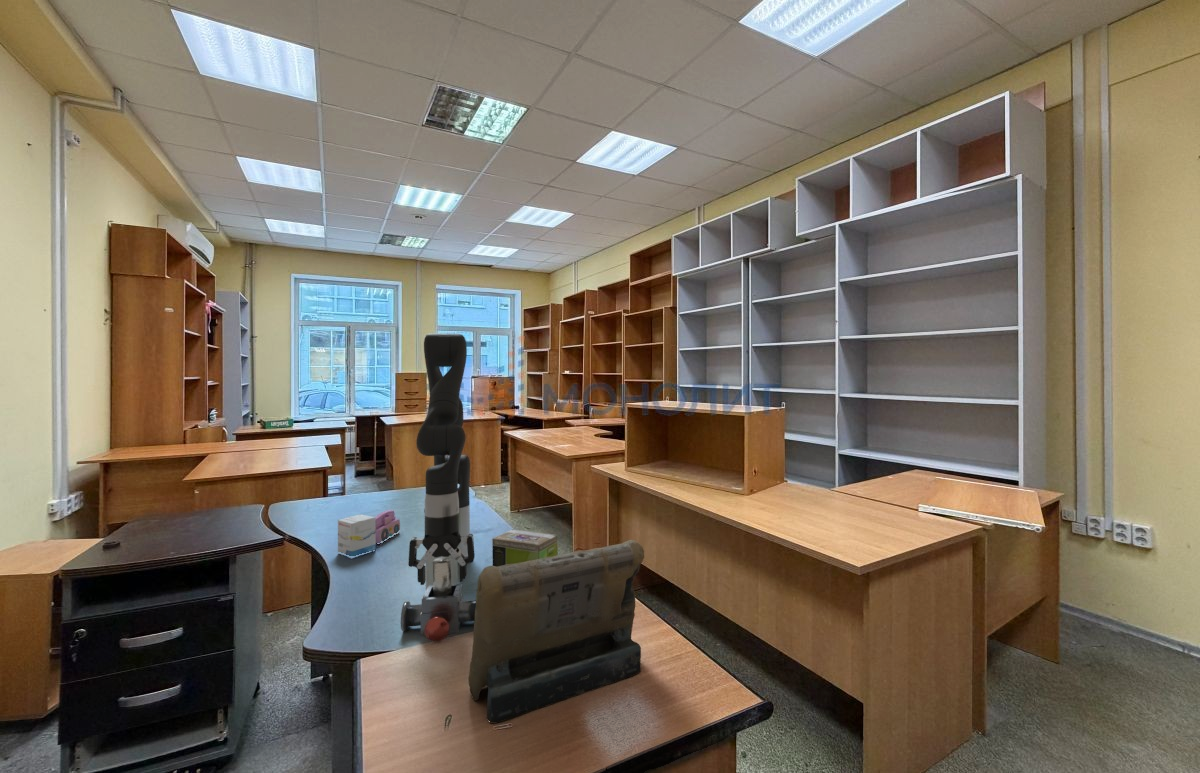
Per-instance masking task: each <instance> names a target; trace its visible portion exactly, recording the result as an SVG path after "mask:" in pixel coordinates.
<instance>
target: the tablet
mask: <svg viewBox="0 0 1200 773" xmlns="http://www.w3.org/2000/svg"><path fill="white" fill-rule="evenodd" d="M644 558H645V550H644V547H643V546H642V545H641V543H639V542H638V541H636V540H634V539H628V540H627V541H624V542H622V543H618V544H617V543H616V544H612V545H605V546H603V547H595V548H591V549H586V550H575V551H572V552H571V551H570V552H568V553H562V554H558V555H556V556H552V557H545V558H541V559H537V560H530V561H527V562H521V563H516V564H507V565H502V566H493V565H487V566H485V567H484V568H483V569H482V571H481V572H480V574H479V576H478V579H477V588H476V597H477V598H475V600H476V608H475V621H473V622H474V623H473V637H472V638H473V639H472V640H473V641H472V650H471V652H472V653H471V658H470V664H469V672H468V673H469V674H468V686H469V692H470V695H471V694H472V695H471V697H472V696H473V698H472V700H473V701H475V702H477V701H478V700H479V698H480V692H481V691H482V689H484V688H485V687H487V703H486V704H487V706H486V720H487V719H488V720H489V721H490V722H497V723H500V722H503V721H506V720H509V719H512V718H515V717H519V716H522V715H524V714H527V713H530V712H533V711H536V710H540V709H541V708H545V707H547V706H550V705H554V704H556V703H559V702H563V701H565V700H568V699H570V698H573V697H574V698H575V697H576V696H580V695H583V694H586V693H588V692H591V691H594V690H596V689H600V688H602V687H605V686H607V685H610V684H613V683H616V682H619V681H622V680H625V679H627V678H630V677H631V676H632V677H633V676H636V675H637V674H638V673H639V674H640V672H641V671H642V668H641V658H642V648H641V645H640V644H639V643H638V642H636V641H634V640H633V639H632V635H633V634H632V633H633V627H634V626H633V624H634V619H635V616H636V615H635V613H636V612H635V610H636V591H635V590H634V589H633V588H632V587H633V581H634V577H635V576H637V574H638V573H639V572H640V567H641V564H642V563H643V561H644ZM488 720H487V721H488Z"/></svg>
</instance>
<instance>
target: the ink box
mask: <svg viewBox="0 0 1200 773" xmlns="http://www.w3.org/2000/svg"><path fill="white" fill-rule="evenodd" d="M375 517H376V516H370V515H365V514H363V513H361V514H356V515H351V516H347V517H344V518H341V519H337V553H338V552H341V553H344V554H346V555H349V556H356V555H359V554H362V553H366V552H369V551H373V550H375V549H376V550H377V546H376V545H377V544H376V531H375Z"/></svg>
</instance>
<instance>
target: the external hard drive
mask: <svg viewBox="0 0 1200 773" xmlns="http://www.w3.org/2000/svg"><path fill="white" fill-rule="evenodd" d="M424 552H425V553H426V552H427V549H426V548H425V550H424ZM425 553H424V554H425ZM441 557H443V556H441ZM441 557H436V558H434V556H432V555H431V556H430V558H429V559H428V560H427V562H426V563H425V571H426V581H425V591H426V590H427V587H428V586H431V585H433V560H435V559H437V558H441ZM449 558H451V582H452V584H459V581H458V580H459V573H458V571H459V565H458V561H457V560H455V559H454V558H453V557H452V555H450V556H449Z"/></svg>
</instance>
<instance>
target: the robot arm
mask: <svg viewBox="0 0 1200 773" xmlns="http://www.w3.org/2000/svg"><path fill="white" fill-rule="evenodd" d="M467 351H468V348H467V340H466V337H465V336H464V335H463V334H461V333H452V332H451V333H448V332H447V333H446V332H444V333H443V332H442V333H441V332H440V333H439V332H434V333H433V332H432V333H431V332H430V333H427V334H426V335H425V337H424V341H423V353H424V354H423V355H424V363H425V368H426V373H427V380H428V389H429V400H428V408H427V410H428V411H427V415H426V416H425V419H424V421H423V422H422V425H421V426H420V429H419V430H418V433H417V436H416V439H415V440H416V441H415V442H416V448H417V450H418V452H419V453H420V454H421V455H422V456H425V457H433V466H429V467H428V468H427V469H426V471H425V495H424V496H425V497H424V509H423V513H424V537H423V538H418V537H416V536H413V537H412V538H411V539H410V541H409V546H408V547H409V548H408V550H409V551H408V563H407V564H408V567H410V568H412V567H414V568H416V570H417V582H418V584H420V586H424V585H426V562H427V560H428V559H429V558H430V556H431V555H432V556H434V558H436V557H441V556H443V557H449V556H450V555H452V557H453V558H454V559H455V560H457V561H458V564H459V565H458V571H459V573H458V579H459V583H463V582H464V580H466V578H467V575H468V574H467V573H468V572H467V568H468V567H467V565H468V564H472V563H473V562H474V560H475V540H474V534H473V533H471V526H470V525H471V523H470V521H471V520H470V518H471V517H470V504H471V503H470V502H471V501H470V480H471V479H470V478H471V475H470V474H471V460H470V459H471V458H470V457H469V456H468V455H467V454H462V453H463V450H464V448H465V447H464V446H465V445H466V438H467V437H466V432H465V430H464V428H463V426H464V405H463V401H462V399H461V397H460V393H461V392H460V391H461V387H462V383H463V378H464V374H465V369H466V363H467V354H468V352H467ZM441 368H449V369H448V371H447V372H446V373H445V374H444V375H443V374H442V371H441ZM421 545H422V546H423V547H424V548H425V550H426V549H427V552H426V553H424V555H423V556H421V558H420V559H417V555H418V554H417V553H418V549H419V548H420V546H421Z"/></svg>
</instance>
